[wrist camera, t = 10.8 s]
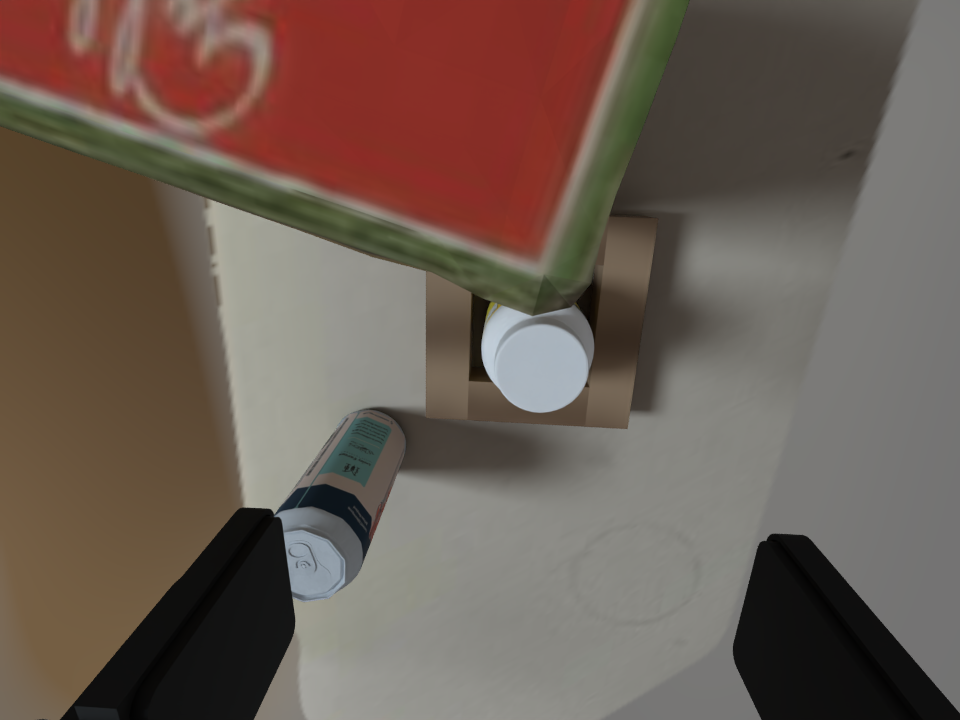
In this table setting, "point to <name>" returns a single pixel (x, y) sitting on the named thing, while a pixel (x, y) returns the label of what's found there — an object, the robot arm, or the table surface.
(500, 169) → the food packaging
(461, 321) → the wooden frame
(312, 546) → the beer can
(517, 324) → the supplement bottle
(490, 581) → the table surface
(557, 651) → the table surface
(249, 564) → the robot arm
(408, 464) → the table surface
